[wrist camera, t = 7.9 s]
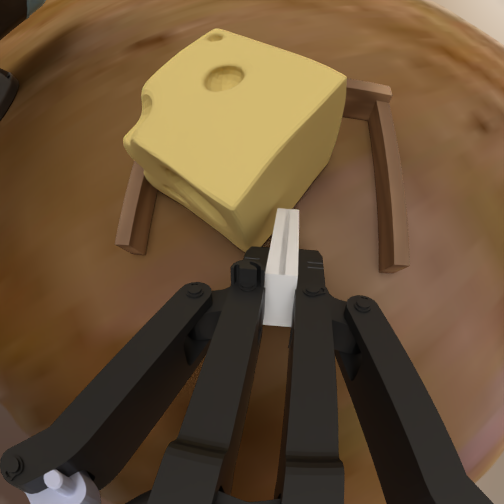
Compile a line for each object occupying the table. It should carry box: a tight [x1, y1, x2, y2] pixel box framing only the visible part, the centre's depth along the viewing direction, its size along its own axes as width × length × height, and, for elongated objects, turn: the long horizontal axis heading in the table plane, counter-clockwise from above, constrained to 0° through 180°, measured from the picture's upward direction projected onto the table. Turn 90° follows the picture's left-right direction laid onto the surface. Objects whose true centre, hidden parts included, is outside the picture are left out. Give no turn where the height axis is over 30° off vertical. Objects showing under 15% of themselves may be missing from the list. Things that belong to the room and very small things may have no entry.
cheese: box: [123, 28, 347, 253], centre depth 18 cm, size 10×11×10 cm
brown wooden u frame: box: [115, 78, 410, 273], centre depth 21 cm, size 20×15×4 cm
